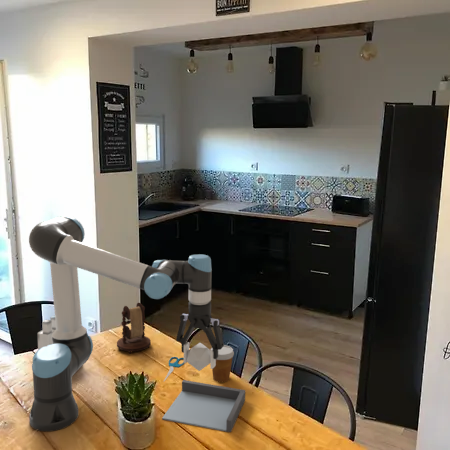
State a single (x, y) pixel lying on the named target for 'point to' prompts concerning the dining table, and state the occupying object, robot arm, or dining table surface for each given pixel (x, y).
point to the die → (199, 356)
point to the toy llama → (46, 332)
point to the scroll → (133, 330)
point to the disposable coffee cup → (223, 364)
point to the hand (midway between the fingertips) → (199, 364)
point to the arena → (206, 406)
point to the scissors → (174, 365)
